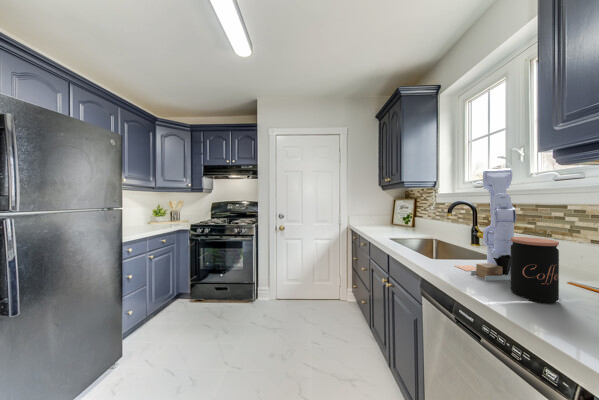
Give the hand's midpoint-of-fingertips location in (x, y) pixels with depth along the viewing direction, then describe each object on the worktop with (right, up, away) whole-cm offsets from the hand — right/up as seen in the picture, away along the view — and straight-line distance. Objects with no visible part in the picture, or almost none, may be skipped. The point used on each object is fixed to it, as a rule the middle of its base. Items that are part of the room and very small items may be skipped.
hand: (503, 274), depth 90 cm
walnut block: (-6, -1, 0) cm, 6 cm away
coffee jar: (-6, -2, -17) cm, 18 cm away
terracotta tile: (-6, -1, +11) cm, 12 cm away
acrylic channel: (-4, -1, 0) cm, 4 cm away
